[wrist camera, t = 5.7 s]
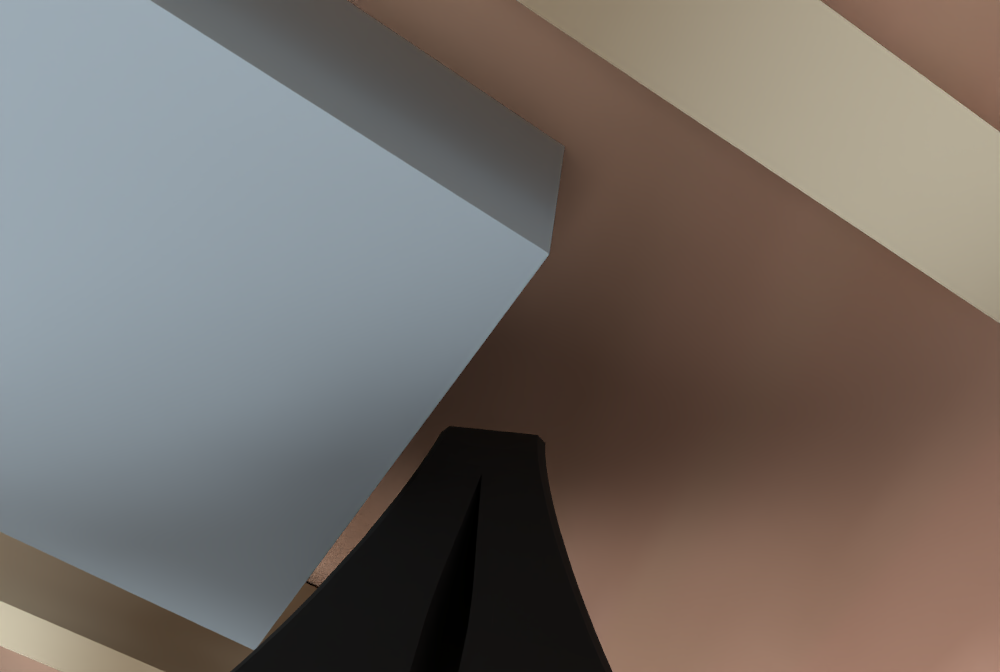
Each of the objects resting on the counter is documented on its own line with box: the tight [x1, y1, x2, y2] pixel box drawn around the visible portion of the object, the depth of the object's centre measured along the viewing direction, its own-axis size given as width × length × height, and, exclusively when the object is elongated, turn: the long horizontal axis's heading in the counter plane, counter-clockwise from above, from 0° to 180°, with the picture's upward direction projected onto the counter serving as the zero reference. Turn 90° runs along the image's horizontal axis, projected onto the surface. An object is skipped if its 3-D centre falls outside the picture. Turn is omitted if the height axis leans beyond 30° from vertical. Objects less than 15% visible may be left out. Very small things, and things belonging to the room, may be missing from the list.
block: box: [0, 0, 565, 650], centre depth 9 cm, size 7×7×4 cm
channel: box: [0, 0, 1000, 672], centre depth 9 cm, size 13×13×4 cm
